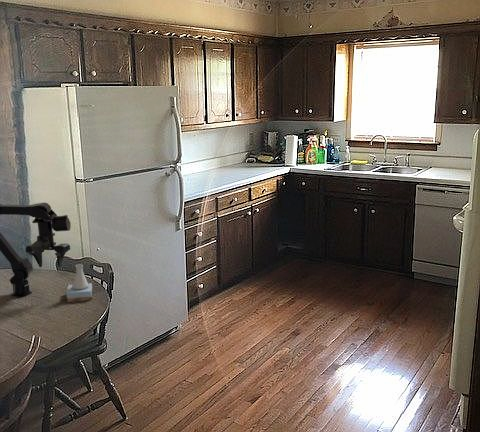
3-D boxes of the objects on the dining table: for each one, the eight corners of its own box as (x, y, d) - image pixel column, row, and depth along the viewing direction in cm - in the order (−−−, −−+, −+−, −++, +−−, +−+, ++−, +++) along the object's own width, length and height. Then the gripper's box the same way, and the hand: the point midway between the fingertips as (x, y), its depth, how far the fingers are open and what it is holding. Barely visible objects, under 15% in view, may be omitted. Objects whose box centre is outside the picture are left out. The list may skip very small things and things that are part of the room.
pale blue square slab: (66, 298, 229) (66, 292, 228) (68, 290, 238) (68, 284, 238) (91, 296, 231) (90, 291, 230) (92, 288, 241) (91, 283, 240)
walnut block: (67, 304, 229) (67, 298, 229) (68, 295, 239) (68, 290, 238) (92, 301, 232) (91, 296, 231) (91, 293, 241) (91, 288, 241)
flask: (84, 290, 231) (83, 268, 229) (68, 289, 232) (67, 267, 230) (91, 285, 238) (90, 263, 236) (76, 283, 239) (74, 262, 237)
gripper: (15, 236, 226) (19, 272, 229) (54, 236, 221) (58, 272, 224) (31, 231, 237) (35, 265, 239) (68, 230, 232) (72, 265, 235)
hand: (50, 267), depth 234 cm, fingers open, 9 cm apart
